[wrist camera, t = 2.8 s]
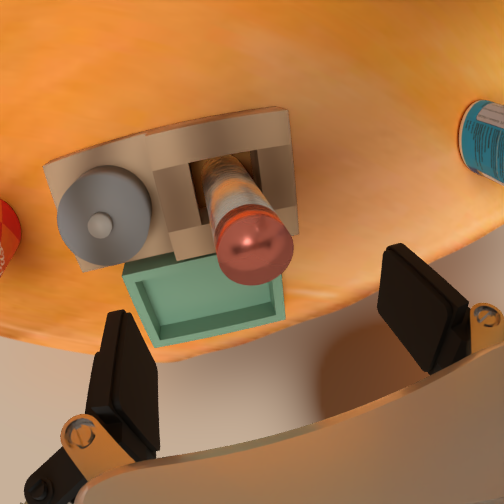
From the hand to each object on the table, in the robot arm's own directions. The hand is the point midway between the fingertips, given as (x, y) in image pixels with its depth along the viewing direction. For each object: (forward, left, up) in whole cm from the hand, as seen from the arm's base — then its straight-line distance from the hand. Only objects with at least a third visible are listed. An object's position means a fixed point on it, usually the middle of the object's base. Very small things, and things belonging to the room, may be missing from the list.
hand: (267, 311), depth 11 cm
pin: (0, -1, -14) cm, 14 cm away
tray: (+3, +8, -14) cm, 17 cm away
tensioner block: (+4, -1, -14) cm, 15 cm away
